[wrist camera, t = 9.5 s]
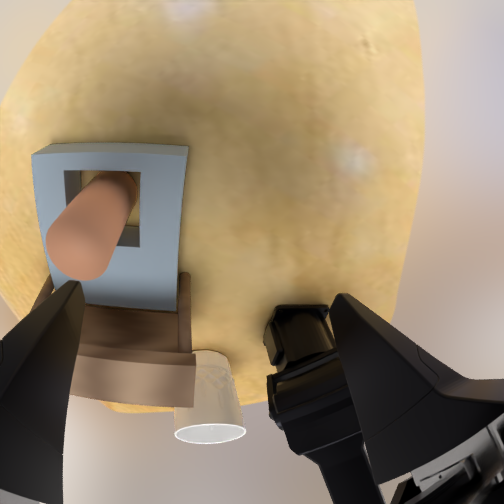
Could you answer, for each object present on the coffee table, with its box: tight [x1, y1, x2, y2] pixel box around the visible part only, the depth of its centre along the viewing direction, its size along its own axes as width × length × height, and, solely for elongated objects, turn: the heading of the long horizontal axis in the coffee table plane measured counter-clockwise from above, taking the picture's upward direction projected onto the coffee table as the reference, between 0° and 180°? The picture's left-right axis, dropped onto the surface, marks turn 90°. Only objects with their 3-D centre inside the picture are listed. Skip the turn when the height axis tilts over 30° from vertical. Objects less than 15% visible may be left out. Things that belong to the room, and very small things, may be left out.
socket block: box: [31, 143, 189, 311], centre depth 19 cm, size 11×13×3 cm
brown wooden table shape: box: [30, 272, 196, 408], centre depth 20 cm, size 14×7×10 cm, turn 79°
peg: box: [46, 171, 137, 281], centre depth 15 cm, size 4×4×8 cm
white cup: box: [174, 350, 246, 444], centre depth 28 cm, size 8×8×10 cm
